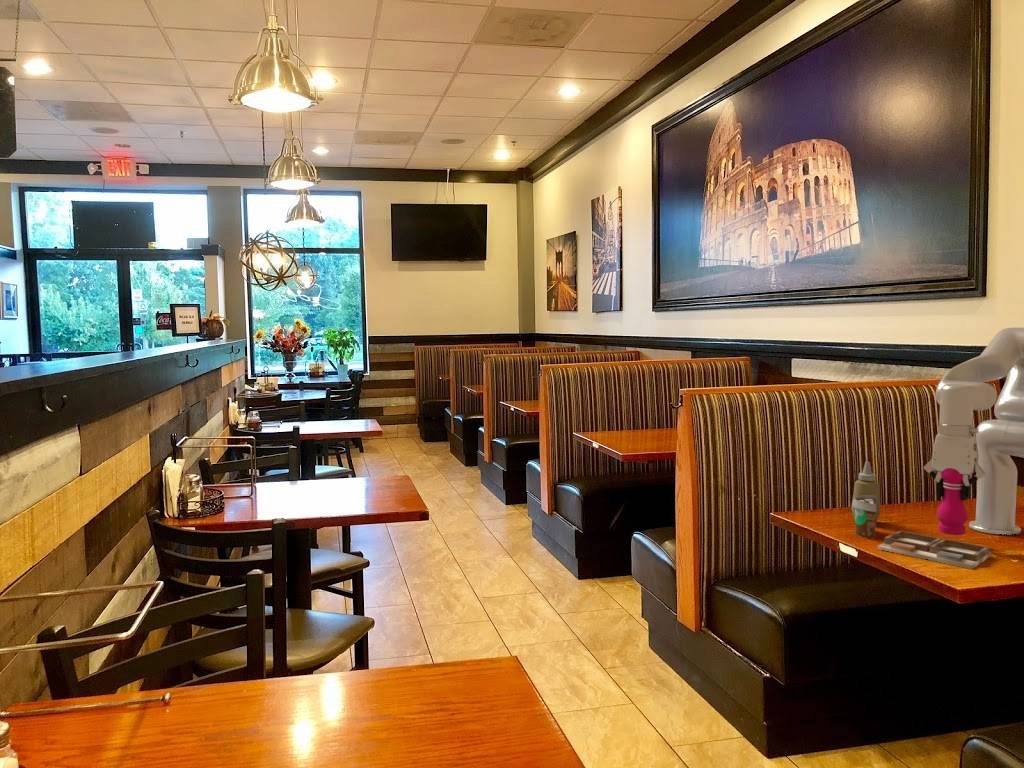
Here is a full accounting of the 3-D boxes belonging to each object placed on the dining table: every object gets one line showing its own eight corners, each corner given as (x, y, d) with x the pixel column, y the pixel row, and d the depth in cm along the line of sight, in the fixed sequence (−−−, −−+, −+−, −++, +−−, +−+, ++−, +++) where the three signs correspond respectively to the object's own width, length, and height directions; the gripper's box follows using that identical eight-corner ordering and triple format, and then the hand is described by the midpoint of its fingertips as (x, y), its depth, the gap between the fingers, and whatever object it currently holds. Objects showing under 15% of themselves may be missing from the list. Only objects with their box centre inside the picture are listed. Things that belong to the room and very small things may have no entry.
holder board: (899, 538, 211) (899, 529, 211) (990, 556, 195) (991, 546, 195) (877, 549, 201) (877, 540, 201) (971, 569, 185) (972, 558, 185)
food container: (852, 527, 223) (853, 493, 223) (875, 529, 221) (876, 495, 220) (850, 537, 212) (851, 502, 212) (874, 540, 210) (876, 504, 209)
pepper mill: (971, 536, 203) (974, 461, 201) (941, 535, 204) (944, 460, 203) (961, 528, 210) (964, 456, 208) (932, 527, 211) (934, 455, 210)
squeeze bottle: (886, 522, 229) (888, 462, 227) (870, 526, 224) (873, 465, 223) (860, 517, 235) (862, 458, 234) (845, 520, 231) (847, 461, 229)
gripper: (996, 432, 201) (993, 500, 203) (925, 426, 213) (923, 490, 215) (987, 435, 196) (984, 506, 198) (915, 429, 208) (913, 495, 210)
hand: (953, 497), depth 206 cm, fingers closed on pepper mill, 5 cm apart
